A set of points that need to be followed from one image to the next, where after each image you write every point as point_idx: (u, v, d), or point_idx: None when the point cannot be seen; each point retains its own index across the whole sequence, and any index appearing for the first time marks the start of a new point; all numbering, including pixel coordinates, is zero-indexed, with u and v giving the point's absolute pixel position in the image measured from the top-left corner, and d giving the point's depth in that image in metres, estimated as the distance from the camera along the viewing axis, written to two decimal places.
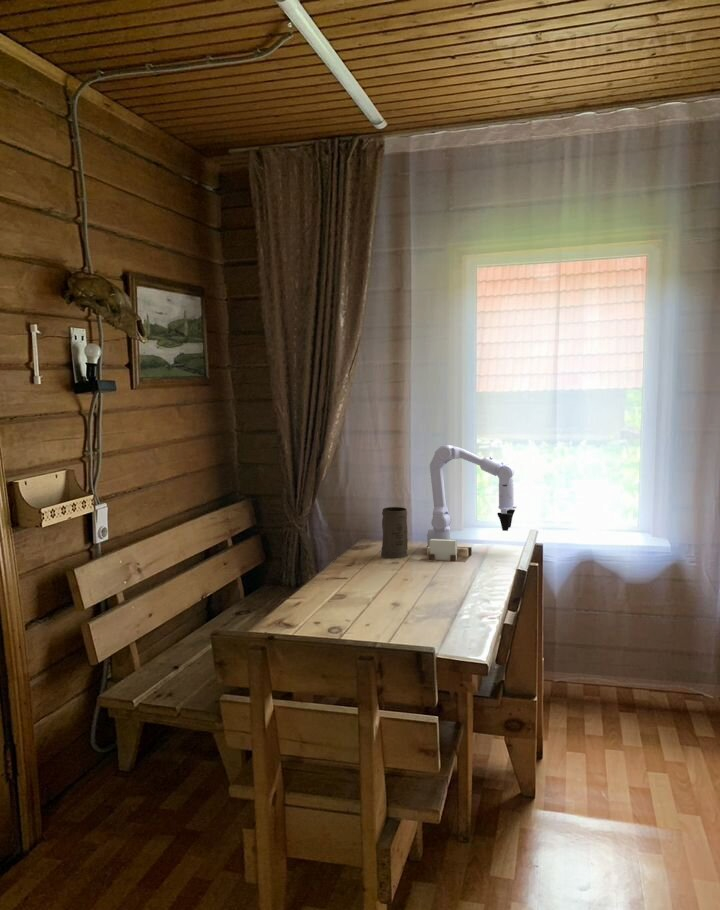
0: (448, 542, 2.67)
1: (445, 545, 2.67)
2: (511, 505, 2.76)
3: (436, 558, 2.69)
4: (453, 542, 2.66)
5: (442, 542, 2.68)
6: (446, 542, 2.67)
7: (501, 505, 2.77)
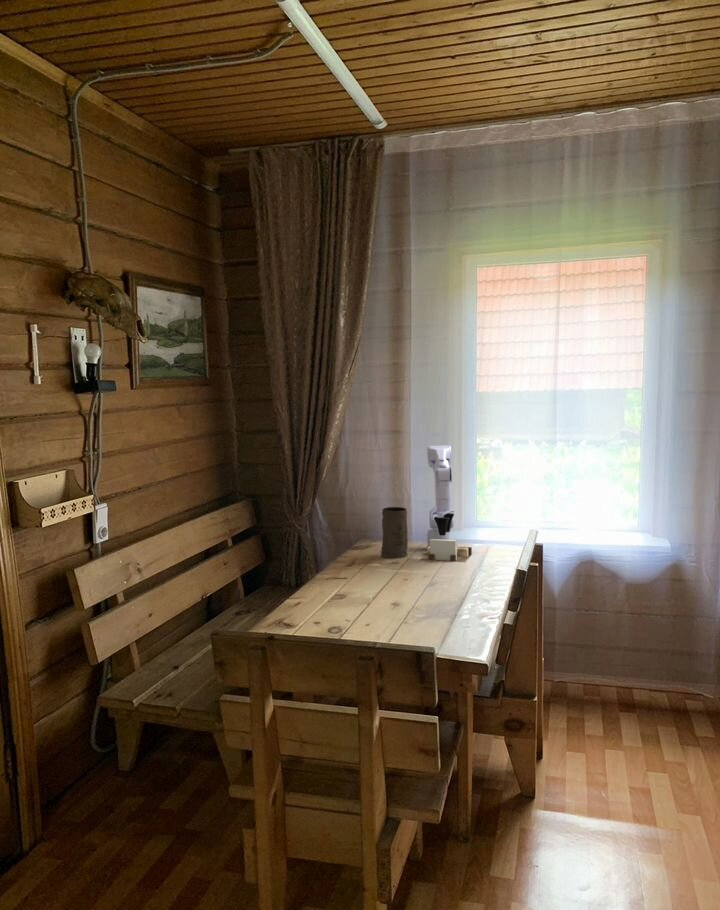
0: (448, 542, 2.67)
1: (445, 545, 2.67)
2: (449, 509, 2.67)
3: (436, 558, 2.69)
4: (453, 542, 2.66)
5: (442, 542, 2.68)
6: (446, 542, 2.67)
7: (438, 509, 2.68)
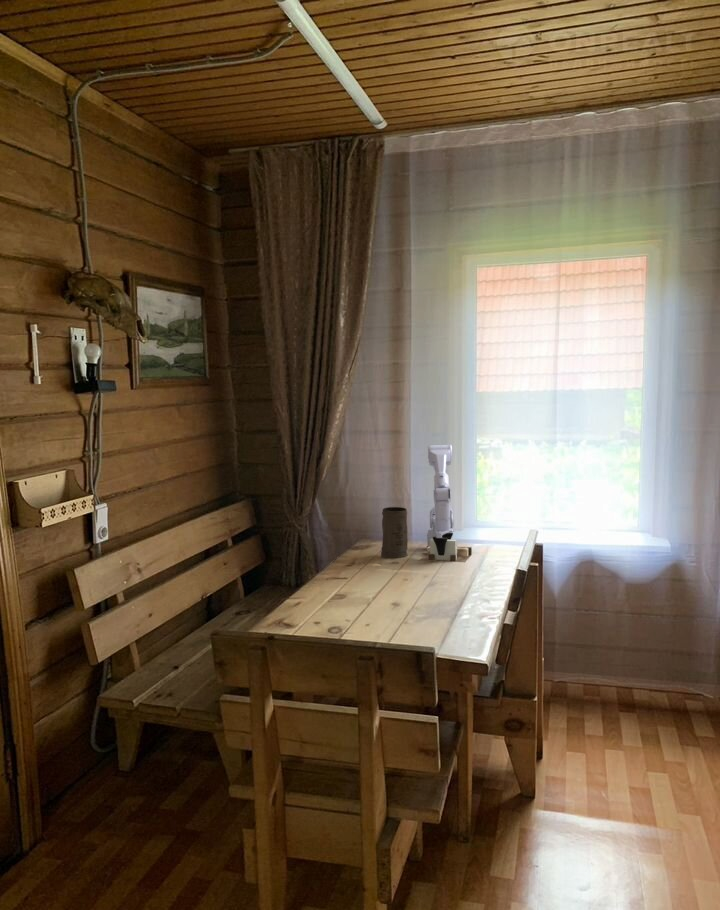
0: (448, 542, 2.67)
1: None
2: (447, 529, 2.66)
3: (436, 558, 2.69)
4: (453, 542, 2.66)
5: None
6: (446, 542, 2.67)
7: (437, 529, 2.67)
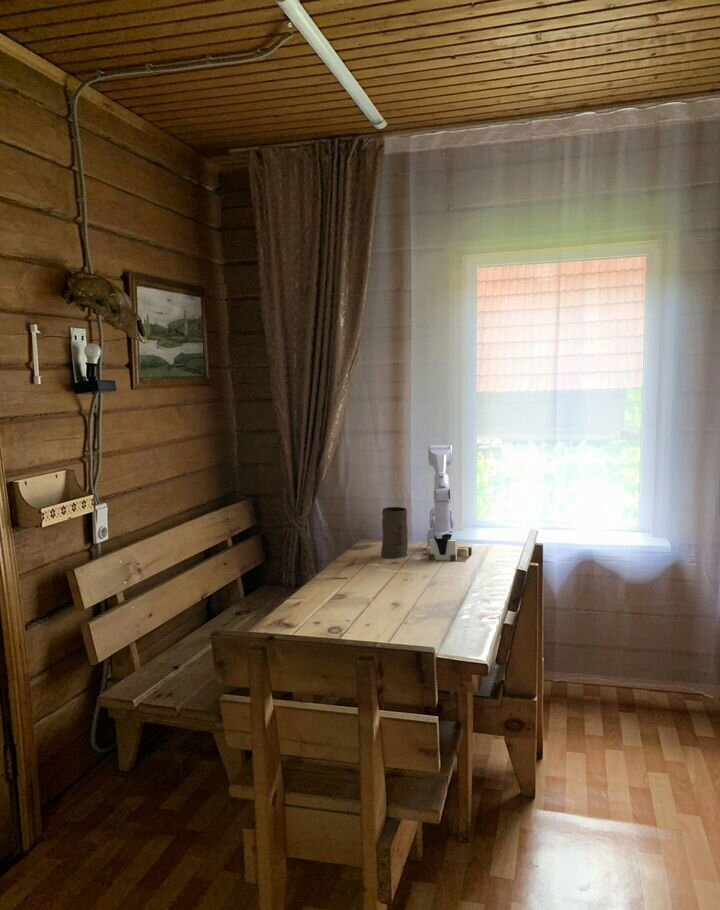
0: (448, 542, 2.67)
1: None
2: (447, 529, 2.66)
3: (436, 558, 2.69)
4: (453, 542, 2.66)
5: None
6: None
7: (437, 529, 2.67)
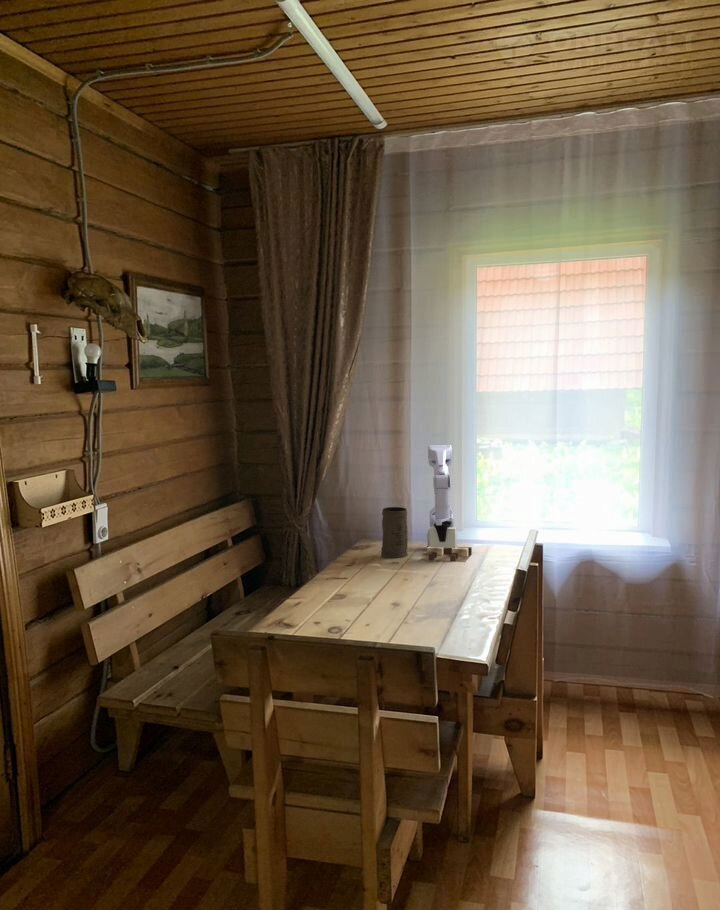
0: (448, 530, 2.67)
1: None
2: (447, 516, 2.66)
3: (436, 546, 2.69)
4: (453, 530, 2.66)
5: None
6: None
7: (437, 516, 2.66)
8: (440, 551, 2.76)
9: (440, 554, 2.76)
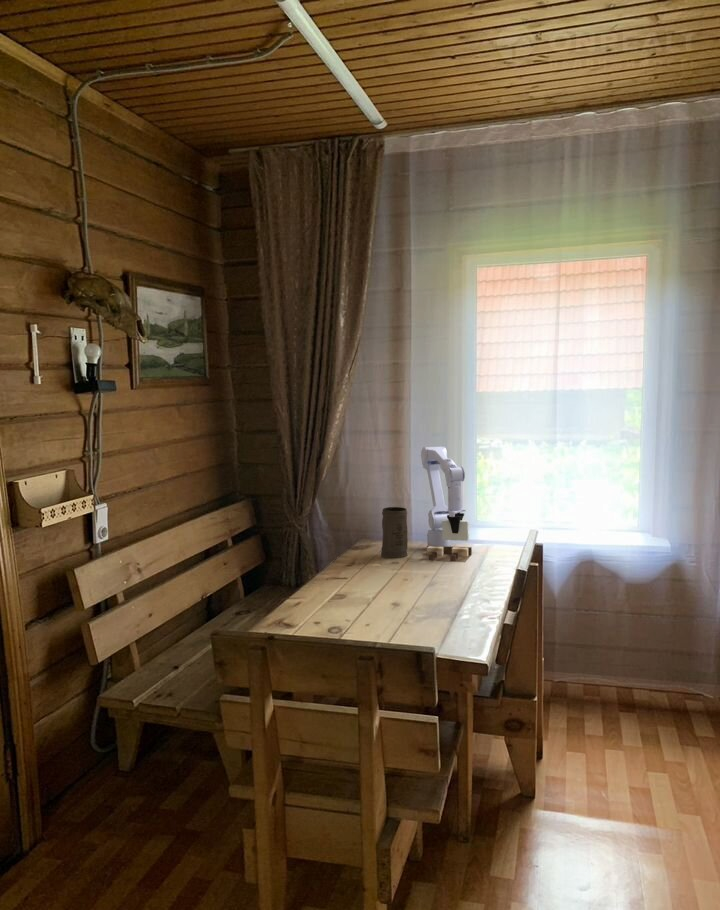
0: (460, 523, 2.70)
1: None
2: (460, 508, 2.70)
3: (448, 538, 2.72)
4: (465, 522, 2.70)
5: None
6: None
7: (450, 508, 2.70)
8: (440, 551, 2.76)
9: (440, 554, 2.76)
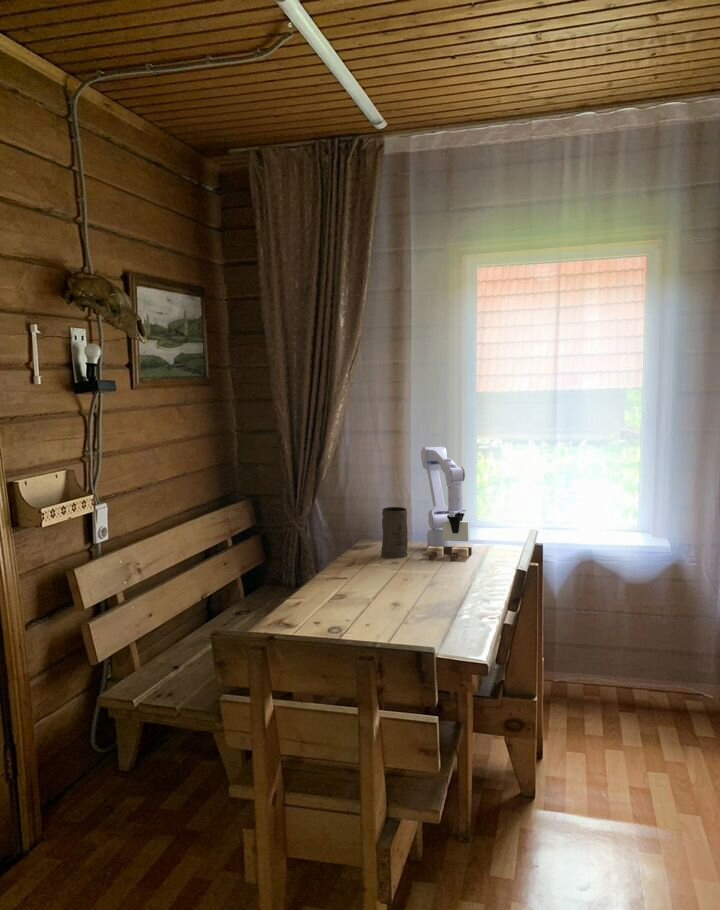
0: (461, 523, 2.70)
1: None
2: (460, 508, 2.70)
3: (449, 539, 2.72)
4: (466, 523, 2.70)
5: None
6: None
7: (450, 508, 2.70)
8: (440, 551, 2.76)
9: (440, 554, 2.76)
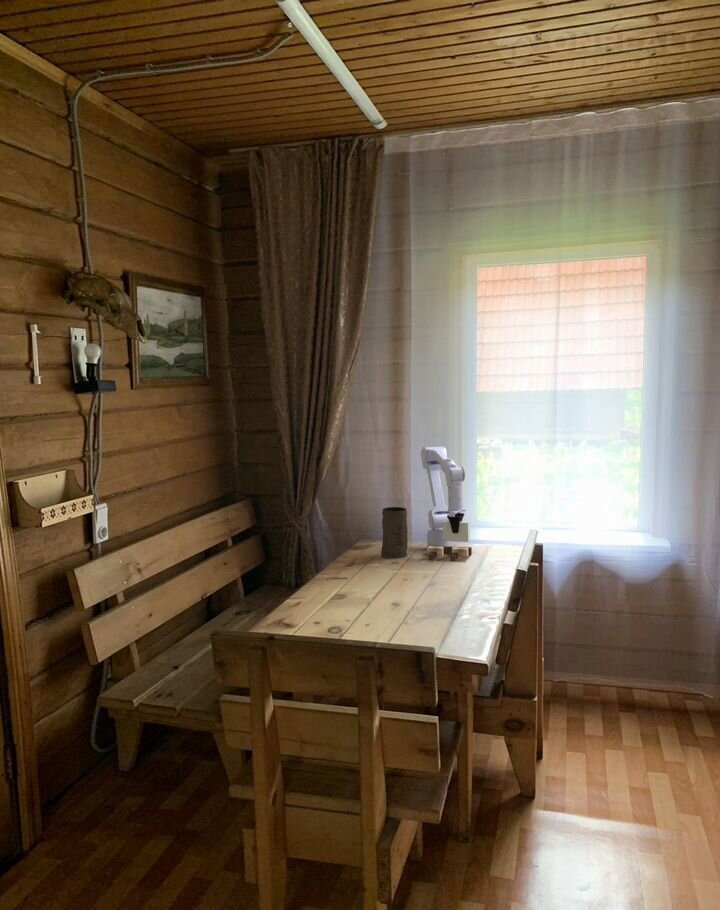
0: (461, 524, 2.70)
1: None
2: (460, 508, 2.70)
3: (449, 540, 2.72)
4: (466, 524, 2.70)
5: None
6: (459, 524, 2.70)
7: (450, 508, 2.70)
8: (440, 551, 2.76)
9: (440, 554, 2.76)
